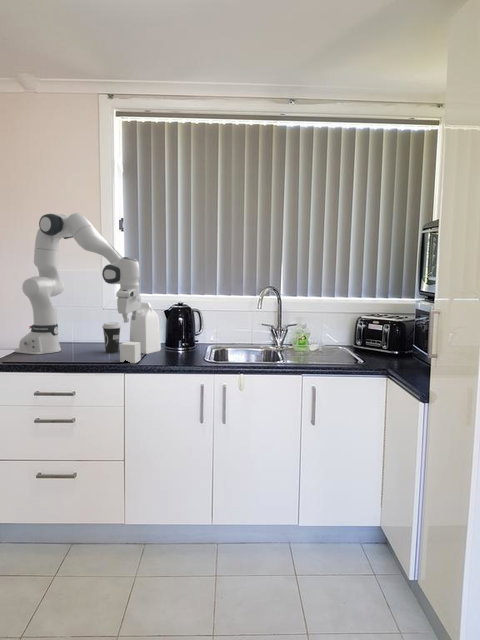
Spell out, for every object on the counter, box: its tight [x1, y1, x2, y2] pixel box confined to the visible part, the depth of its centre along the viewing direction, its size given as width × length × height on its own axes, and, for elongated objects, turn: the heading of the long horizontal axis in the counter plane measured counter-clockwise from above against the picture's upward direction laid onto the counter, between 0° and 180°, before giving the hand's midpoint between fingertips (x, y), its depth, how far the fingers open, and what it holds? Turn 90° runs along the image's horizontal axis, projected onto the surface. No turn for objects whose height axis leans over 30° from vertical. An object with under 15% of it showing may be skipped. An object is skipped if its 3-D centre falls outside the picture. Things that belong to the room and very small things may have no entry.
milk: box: [129, 301, 162, 355], centre depth 243 cm, size 12×12×26 cm
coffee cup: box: [101, 321, 122, 354], centre depth 240 cm, size 10×10×15 cm
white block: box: [119, 341, 142, 364], centre depth 218 cm, size 7×7×9 cm
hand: (130, 321), depth 217 cm, fingers open, 8 cm apart
